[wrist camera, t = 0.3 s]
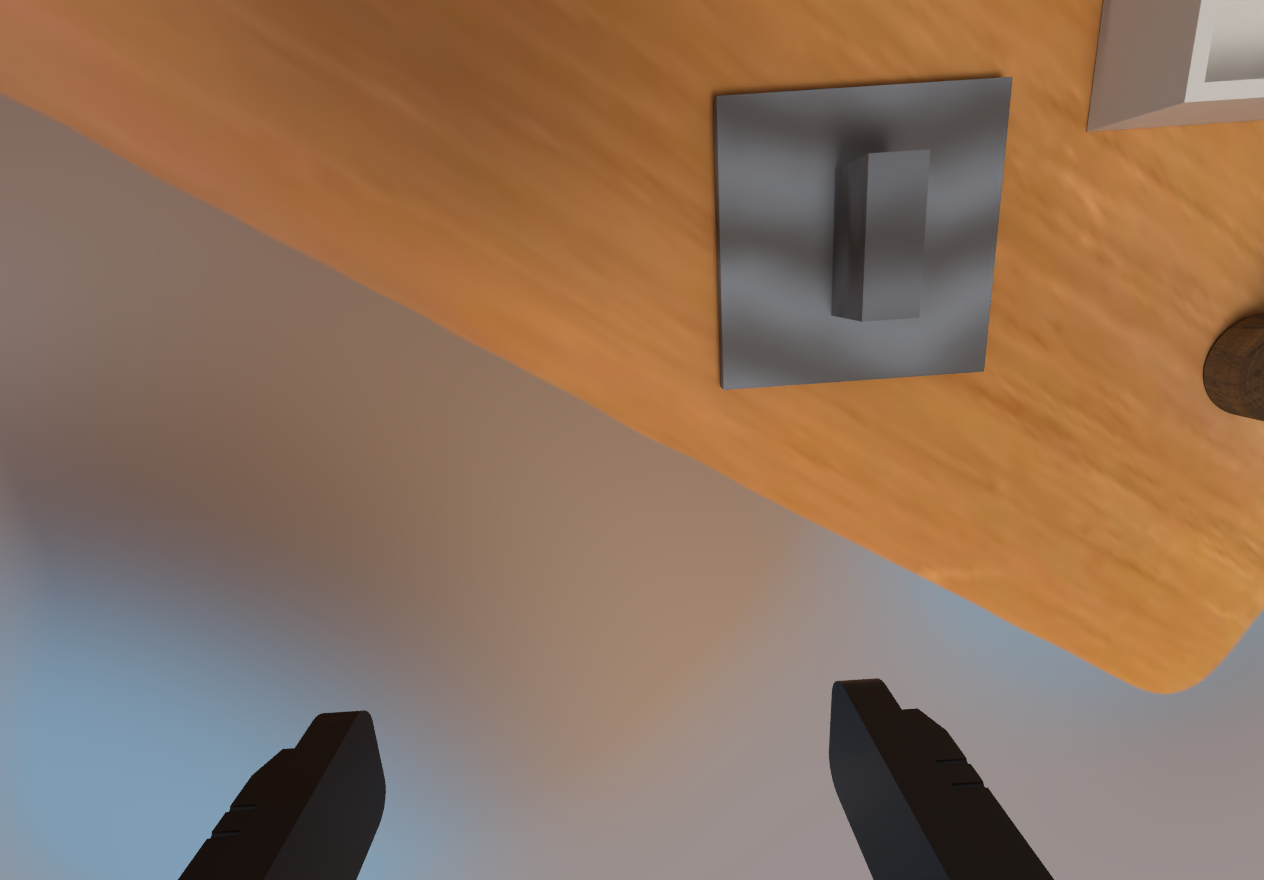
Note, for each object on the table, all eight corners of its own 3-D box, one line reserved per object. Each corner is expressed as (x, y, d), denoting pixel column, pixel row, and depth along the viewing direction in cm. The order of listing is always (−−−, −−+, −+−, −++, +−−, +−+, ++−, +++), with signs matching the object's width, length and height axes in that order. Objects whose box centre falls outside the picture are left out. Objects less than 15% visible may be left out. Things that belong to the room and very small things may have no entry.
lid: (711, 104, 33) (732, 68, 28) (994, 85, 34) (1074, 46, 28) (718, 384, 38) (738, 405, 32) (968, 367, 38) (1034, 384, 32)
